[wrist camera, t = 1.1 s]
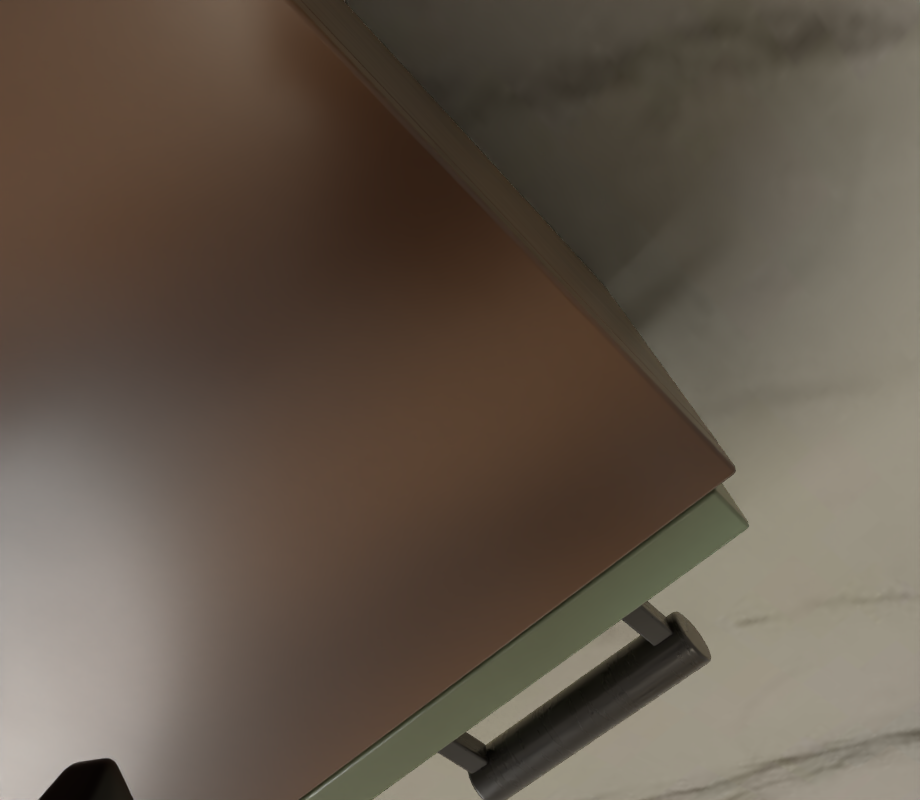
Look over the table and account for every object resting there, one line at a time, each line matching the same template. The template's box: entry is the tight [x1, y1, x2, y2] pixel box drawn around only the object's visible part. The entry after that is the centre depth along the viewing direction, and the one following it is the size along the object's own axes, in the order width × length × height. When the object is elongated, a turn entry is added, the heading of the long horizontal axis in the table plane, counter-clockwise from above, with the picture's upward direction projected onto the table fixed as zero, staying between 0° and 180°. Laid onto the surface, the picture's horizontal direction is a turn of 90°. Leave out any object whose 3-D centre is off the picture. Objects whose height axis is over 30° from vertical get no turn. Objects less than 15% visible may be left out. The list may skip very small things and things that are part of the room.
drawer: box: [299, 483, 749, 800], centre depth 18 cm, size 19×13×7 cm
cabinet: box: [0, 0, 736, 800], centre depth 15 cm, size 16×15×9 cm
